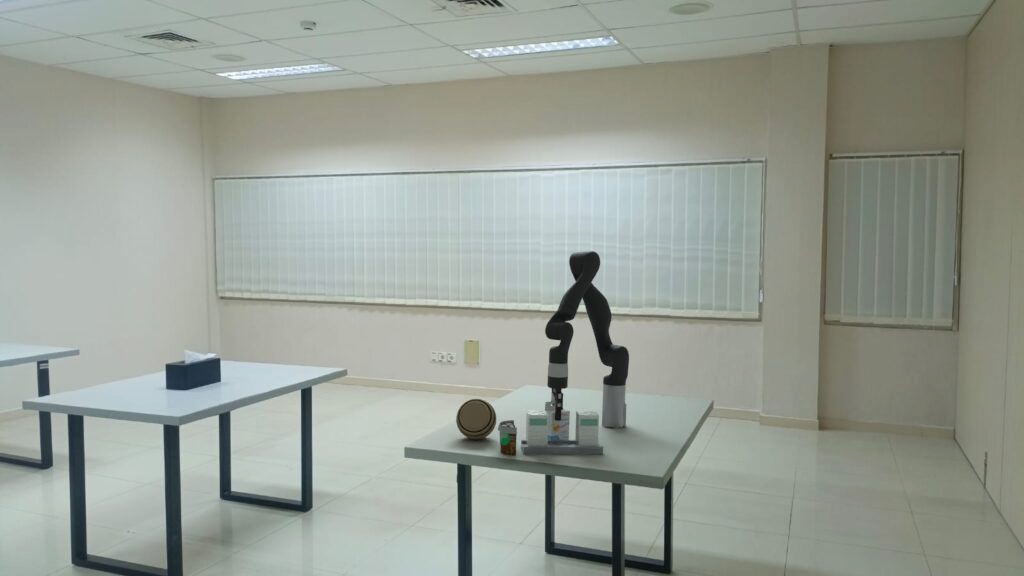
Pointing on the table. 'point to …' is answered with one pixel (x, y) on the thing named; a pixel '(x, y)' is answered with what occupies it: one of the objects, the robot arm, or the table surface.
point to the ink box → (557, 423)
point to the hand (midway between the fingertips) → (556, 417)
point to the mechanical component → (476, 419)
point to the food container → (508, 437)
